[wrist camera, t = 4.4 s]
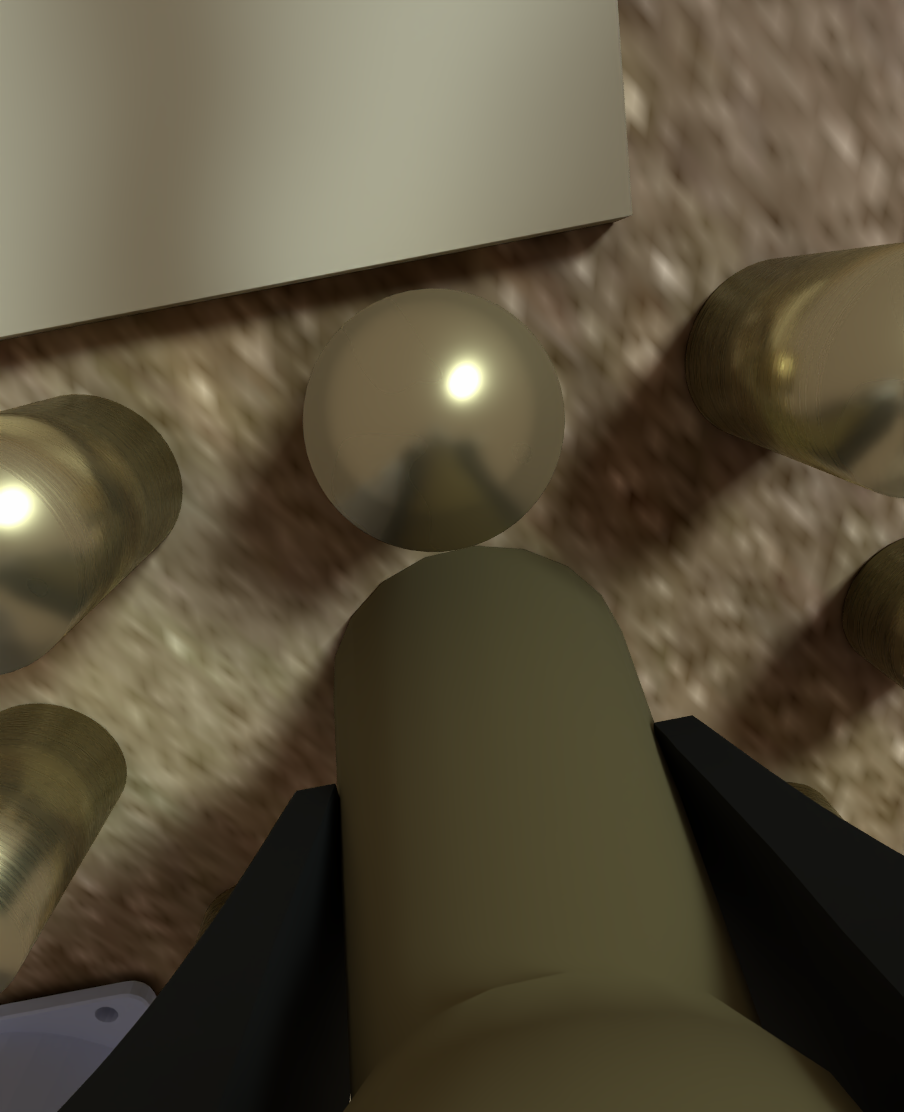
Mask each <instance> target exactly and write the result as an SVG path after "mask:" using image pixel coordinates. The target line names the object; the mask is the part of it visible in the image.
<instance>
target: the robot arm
mask: <svg viewBox="0 0 904 1112" xmlns="http://www.w3.org/2000/svg"><path fill="white" fill-rule="evenodd" d="M654 733H655V735H656V738H657V740H658V742H659V745H660V747H661V750H662V752H663V755H664V757H665V759H666V762H667V764H668V767H669V769H670V772H671V774H672V776H673V779H674V781H675V784H676V786H677V788H678V791H679V794H680V797H681V800H682V802H683V805H684V808H685V811H686V814H687V816H688V819H689V822H690V825H691V828H692V831H693V833H694V836H695V839H696V842H697V845H698V848H699V850H700V853H701V856H702V859H703V862H704V864H705V867H706V870H707V873H708V876H709V879H710V881H711V884H712V887H713V890H714V893H715V895H716V898H717V901H718V904H719V907H720V910H721V912H722V915H723V918H724V921H725V924H726V926H727V929H728V932H729V935H730V938H731V941H732V943H733V946H734V949H735V952H736V955H737V958H738V960H739V963H740V966H741V969H742V972H743V974H744V977H745V980H746V983H747V986H748V989H749V991H750V994H751V997H752V1000H753V1003H754V1005H755V1008H756V1011H757V1014H758V1017H759V1020H760V1022H761V1025H762V1028H763V1029H765V1030H766V1031H768V1032H769V1033H771V1034H772V1035H774V1036H775V1037H777V1038H778V1039H780V1040H781V1041H783V1042H784V1043H786V1044H788V1045H789V1046H791V1047H792V1048H794V1049H795V1050H797V1051H798V1052H800V1053H801V1054H803V1055H804V1056H806V1057H807V1058H809V1059H810V1060H812V1061H813V1062H815V1063H816V1064H818V1065H820V1066H821V1067H823V1068H824V1069H826V1070H827V1071H829V1072H830V1073H831V1074H832V1075H833V1076H834V1078H835V1079H836V1080H837V1081H838V1082H839V1084H840V1085H841V1086H842V1087H843V1088H844V1090H845V1091H846V1092H847V1093H848V1094H849V1096H850V1097H851V1098H852V1099H853V1100H854V1102H855V1103H856V1104H857V1105H858V1106H859V1107H860V1109H861V1110H862V1111H863V1112H904V856H903V855H902V854H900V853H898V852H896V851H894V850H893V849H891V848H889V847H888V846H886V845H884V844H883V843H881V842H879V841H878V840H876V839H874V838H873V837H871V836H869V835H868V834H866V833H864V832H863V831H861V830H859V829H858V828H856V827H854V826H853V825H851V824H849V823H848V822H846V821H844V820H843V819H841V818H839V817H838V816H836V815H835V814H833V813H832V812H830V811H829V810H827V809H825V808H824V807H822V806H821V805H819V804H818V803H816V802H815V801H813V800H812V799H810V798H809V797H807V796H806V795H804V794H803V793H801V792H800V791H798V790H797V789H795V788H794V787H792V786H791V785H789V784H788V783H786V782H785V781H783V780H782V779H781V778H779V777H778V776H776V775H775V774H773V773H772V772H771V771H769V770H768V769H766V768H765V767H763V766H762V765H761V764H759V763H758V762H756V761H755V760H754V759H752V758H751V757H749V756H748V755H747V754H745V753H744V752H742V751H741V750H740V749H738V748H737V747H736V746H734V745H733V744H731V743H730V742H729V741H727V740H726V739H725V738H723V737H722V736H720V735H719V734H718V733H716V732H715V731H714V730H712V729H711V728H709V727H708V726H707V725H705V724H704V723H702V722H701V721H700V720H698V719H697V718H695V717H694V716H693V715H692V716H687V717H682V718H677V719H671V720H666V721H661V722H656V723H654ZM349 1101H350V1071H349V1047H348V1024H347V1000H346V977H345V953H344V930H343V906H342V883H341V844H340V797H339V794H338V791H337V788H336V784H331V785H325V786H320V787H315V788H310V789H304V790H299V791H296V793H295V794H294V795H293V797H292V798H291V800H290V801H289V803H288V805H287V806H286V808H285V809H284V811H283V812H282V814H281V816H280V817H279V819H278V821H277V822H276V824H275V825H274V827H273V829H272V830H271V832H270V834H269V835H268V837H267V838H266V840H265V842H264V843H263V845H262V846H261V848H260V850H259V851H258V853H257V854H256V856H255V857H254V859H253V861H252V862H251V864H250V865H249V867H248V868H247V870H246V871H245V873H244V875H243V876H242V878H241V879H240V881H239V882H238V884H237V885H236V887H235V888H234V890H233V891H232V893H231V894H230V896H229V897H228V899H227V900H226V902H225V903H224V905H223V906H222V908H221V909H220V911H219V912H218V914H217V915H216V917H215V918H214V920H213V921H212V922H211V924H210V925H209V927H208V928H207V929H206V931H205V932H204V934H203V935H202V936H201V938H200V939H199V940H198V942H197V943H196V945H195V946H194V947H193V949H192V950H191V951H190V953H189V954H188V956H187V957H186V958H185V960H184V961H183V963H182V964H181V965H180V967H179V968H178V969H177V971H176V972H175V974H174V975H173V976H172V978H171V979H170V980H169V982H168V983H167V984H166V985H165V987H164V988H163V989H162V991H161V992H160V993H159V994H158V996H157V997H156V995H155V993H154V991H153V990H152V989H151V988H150V986H148V985H147V984H145V983H143V982H139V981H125V982H120V983H114V984H109V985H104V986H98V987H93V988H88V989H83V990H77V991H72V992H67V993H62V994H56V995H51V996H46V997H40V998H35V999H30V1000H25V1001H19V1002H14V1003H9V1004H3V1005H0V1112H343V1111H344V1110H345V1108H346V1107H347V1106H348V1104H349Z"/></svg>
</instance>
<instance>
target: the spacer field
mask: <svg viewBox="0 0 904 1112" xmlns="http://www.w3.org/2000/svg"><path fill="white" fill-rule="evenodd" d="M685 372H686V380H687V384H688V388H689V392H690V394H691V397H692V399H693V401H694V403H695V405H696V406H697V408H698V410H699V411H700V412H701V413H702V415H703V416H704V417H705V418H706V419H707V420H708V421H709V422H710V423H711V424H713V425H714V426H716V427H717V428H719V429H720V430H722V431H724V432H726V433H729V434H731V435H734V436H736V437H739V438H741V439H744V440H746V441H749V442H751V443H754V444H756V445H759V446H761V447H764V448H766V449H769V450H771V451H774V452H776V453H779V454H781V455H784V456H786V457H789V458H791V459H794V460H796V461H799V462H801V463H804V464H806V465H809V466H811V467H814V468H816V469H819V470H822V471H824V472H827V473H829V474H832V475H834V476H837V477H839V478H842V479H844V480H847V481H849V482H852V483H854V484H857V485H859V486H862V487H864V488H867V489H869V490H872V491H874V492H877V493H880V494H884V495H887V496H891V497H898V498H904V242H902V243H894V244H887V245H879V246H871V247H863V248H855V249H847V250H839V251H831V252H823V253H816V254H808V255H800V256H792V257H784V258H776V259H769V260H765V261H761V262H758V263H755V264H753V265H751V266H748V267H746V268H744V269H742V270H741V271H739V272H737V273H736V274H734V275H733V276H731V277H730V278H729V279H727V280H726V281H725V282H724V283H723V284H722V285H721V286H720V287H718V288H717V289H716V290H715V292H714V293H713V294H712V295H711V296H710V297H709V299H708V300H707V301H706V303H705V304H704V306H703V307H702V309H701V310H700V312H699V314H698V316H697V318H696V320H695V322H694V324H693V327H692V330H691V332H690V335H689V339H688V343H687V349H686V356H685ZM564 425H565V417H564V403H563V397H562V392H561V387H560V384H559V381H558V377H557V374H556V371H555V369H554V367H553V365H552V363H551V361H550V359H549V357H548V355H547V353H546V352H545V350H544V349H543V347H542V345H541V344H540V342H539V341H538V340H537V338H536V337H535V336H534V335H533V334H532V333H531V332H530V330H529V329H528V328H527V327H526V326H525V325H524V324H523V323H521V322H520V321H519V320H518V319H517V318H516V317H515V316H513V315H512V314H511V313H509V312H508V311H506V310H505V309H503V308H501V307H500V306H498V305H497V304H494V303H492V302H490V301H488V300H486V299H484V298H482V297H479V296H476V295H472V294H469V293H466V292H462V291H456V290H449V289H419V290H411V291H406V292H403V293H399V294H395V295H391V296H389V297H387V298H384V299H382V300H380V301H377V302H375V303H373V304H372V305H370V306H368V307H367V308H365V309H363V310H362V311H360V312H358V313H357V314H356V315H355V316H353V317H352V318H351V319H350V320H349V321H347V322H346V323H345V324H344V325H343V326H342V327H341V328H340V329H339V330H338V331H337V332H336V333H335V335H334V336H333V337H332V338H331V339H330V341H329V342H328V344H327V345H326V347H325V348H324V349H323V351H322V352H321V354H320V356H319V358H318V360H317V362H316V364H315V366H314V368H313V371H312V374H311V377H310V379H309V382H308V385H307V390H306V395H305V400H304V409H303V433H304V441H305V446H306V451H307V455H308V458H309V461H310V464H311V467H312V470H313V472H314V474H315V477H316V479H317V481H318V483H319V485H320V487H321V488H322V490H323V491H324V493H325V494H326V496H327V497H328V499H329V500H330V501H331V502H332V504H333V505H334V506H335V507H336V508H337V510H338V511H339V512H340V513H341V514H342V515H343V516H344V517H346V518H347V519H348V520H349V521H350V522H351V523H352V524H354V525H355V526H357V527H358V528H359V529H361V530H362V531H364V532H365V533H367V534H369V535H371V536H372V537H374V538H376V539H378V540H380V541H383V542H385V543H388V544H391V545H393V546H396V547H400V548H405V549H409V550H415V551H424V552H444V551H452V550H459V549H463V548H467V547H471V546H474V545H477V544H479V543H482V542H484V541H487V540H489V539H491V538H493V537H495V536H497V535H498V534H500V533H502V532H504V531H505V530H506V529H508V528H509V527H511V526H512V525H513V524H515V523H516V522H517V521H518V520H519V519H521V518H522V517H523V516H524V515H525V514H526V513H527V512H528V511H529V510H530V509H531V507H532V506H533V505H534V504H535V503H536V502H537V500H538V499H539V498H540V496H541V495H542V493H543V492H544V490H545V489H546V487H547V485H548V483H549V481H550V479H551V477H552V475H553V473H554V471H555V468H556V465H557V463H558V460H559V457H560V453H561V448H562V443H563V438H564ZM181 503H182V481H181V475H180V472H179V468H178V465H177V462H176V460H175V457H174V455H173V453H172V451H171V450H170V448H169V446H168V444H167V443H166V442H165V440H164V439H163V438H162V436H161V435H160V434H159V433H158V432H157V431H156V429H155V428H154V427H153V426H152V425H151V424H149V423H148V422H147V421H146V420H145V419H144V418H143V417H141V416H140V415H138V414H137V413H135V412H134V411H132V410H131V409H129V408H127V407H125V406H123V405H121V404H119V403H116V402H114V401H111V400H109V399H105V398H101V397H97V396H91V395H78V394H71V395H63V396H58V397H54V398H50V399H46V400H42V401H38V402H35V403H31V404H27V405H23V406H19V407H16V408H12V409H8V410H4V411H0V675H1V674H5V673H9V672H13V671H15V670H18V669H20V668H23V667H25V666H27V665H29V664H31V663H33V662H34V661H36V660H38V659H39V658H41V657H42V656H43V655H44V654H46V653H47V652H48V651H49V650H50V649H52V648H53V647H54V646H55V645H56V644H57V643H58V642H59V641H60V640H61V639H62V638H63V637H64V636H65V635H66V634H67V633H68V632H69V631H70V630H71V629H72V628H73V627H74V626H75V625H76V624H77V623H78V622H79V621H80V620H82V619H83V618H84V617H85V616H86V615H87V614H88V613H89V612H90V611H91V610H92V609H93V608H94V607H95V606H96V605H97V604H98V603H99V602H100V601H101V600H102V599H103V598H104V597H105V596H106V595H107V594H108V593H109V592H110V591H111V590H113V589H114V588H115V587H116V586H117V585H118V584H119V583H120V582H121V581H122V580H123V579H124V578H125V577H126V576H127V575H128V574H129V573H130V572H131V571H132V570H133V569H134V568H135V567H136V566H137V565H138V564H139V563H140V562H141V561H143V560H144V559H145V558H146V557H147V556H148V555H149V554H150V553H151V552H152V551H153V550H154V549H155V548H156V547H157V546H158V545H159V544H160V543H161V542H162V541H163V540H164V539H165V538H166V537H167V536H168V534H169V533H170V531H171V530H172V529H173V527H174V525H175V523H176V521H177V519H178V516H179V512H180V509H181ZM842 616H843V628H844V632H845V635H846V638H847V640H848V642H849V643H850V645H851V646H852V648H853V649H854V650H855V651H856V652H857V653H858V654H859V655H861V656H862V657H863V658H864V659H866V660H867V661H868V662H870V663H871V664H872V665H874V666H875V667H876V668H877V669H879V670H880V671H881V672H883V673H884V674H885V675H887V676H888V677H889V678H890V679H892V680H893V681H894V682H896V683H897V684H898V685H900V686H901V687H902V688H903V689H904V539H901V540H899V541H897V542H895V543H893V544H891V545H889V546H888V547H886V548H885V549H883V550H882V551H880V552H879V553H878V554H877V555H875V556H874V557H873V558H872V559H871V560H870V561H869V562H868V563H867V564H866V565H865V566H864V567H863V568H862V570H861V571H860V572H859V573H858V575H857V576H856V578H855V579H854V581H853V583H852V585H851V586H850V588H849V591H848V593H847V596H846V599H845V603H844V606H843V615H842ZM126 777H127V768H126V763H125V759H124V756H123V753H122V751H121V749H120V747H119V745H118V744H117V742H116V741H115V740H114V738H113V737H112V736H111V735H110V734H109V733H108V732H107V731H106V730H105V729H104V728H103V727H102V726H101V725H99V724H98V723H97V722H95V721H94V720H92V719H91V718H89V717H87V716H85V715H83V714H81V713H79V712H76V711H74V710H72V709H68V708H65V707H61V706H56V705H51V704H25V705H19V706H15V707H11V708H8V709H6V710H3V711H1V712H0V993H1V992H2V991H3V990H4V989H5V988H6V987H7V986H9V984H10V983H11V982H12V980H13V979H14V978H15V976H16V974H17V973H18V971H19V969H20V967H21V966H22V964H23V962H24V961H25V959H26V957H27V955H28V954H29V952H30V950H31V949H32V947H33V945H34V943H35V942H36V940H37V938H38V937H39V935H40V933H41V931H42V930H43V928H44V926H45V925H46V923H47V921H48V919H49V918H50V916H51V914H52V912H53V911H54V909H55V907H56V906H57V904H58V902H59V900H60V899H61V897H62V895H63V894H64V892H65V890H66V888H67V887H68V885H69V883H70V882H71V880H72V878H73V876H74V875H75V873H76V871H77V870H78V868H79V866H80V864H81V863H82V861H83V859H84V858H85V856H86V854H87V852H88V851H89V849H90V847H91V846H92V844H93V842H94V840H95V839H96V837H97V835H98V834H99V832H100V830H101V828H102V827H103V825H104V823H105V822H106V820H107V818H108V816H109V815H110V813H111V811H112V810H113V808H114V806H115V804H116V803H117V801H118V799H119V798H120V796H121V794H122V792H123V790H124V787H125V784H126ZM786 783H788V784H789V785H791V786H792V787H794V788H795V789H797V790H798V791H800V792H801V793H803V794H804V795H806V796H807V797H809V798H810V799H812V800H813V801H815V802H816V803H818V804H819V805H821V806H822V807H824V808H825V809H827V810H829V811H830V812H832V813H833V814H835V815H836V816H838V817H839V818H841V819H843V818H842V817H841V816H840V815H839V814H838V813H837V811H836V810H835V809H834V808H833V807H832V805H831V804H830V803H829V802H828V801H827V800H826V798H825V797H824V796H823V795H822V794H820V793H819V792H818V791H816V790H815V789H813V788H811V787H809V786H806V785H803V784H798V783H790V782H786ZM234 888H235V887H233V888H231V889H229V890H227V891H226V892H224V893H223V894H221V895H220V896H219V897H218V898H216V899H215V900H214V901H213V903H212V904H211V905H210V906H209V908H208V910H207V911H206V914H205V916H204V919H203V922H202V925H201V928H200V931H199V934H198V937H197V940H196V943H197V942H198V940H199V939H200V938H201V936H202V935H203V934H204V932H205V931H206V929H207V928H208V927H209V925H210V924H211V922H212V921H213V920H214V918H215V917H216V915H217V914H218V912H219V911H220V909H221V908H222V906H223V905H224V903H225V902H226V900H227V899H228V897H229V896H230V894H231V893H232V891H233V890H234ZM196 943H195V945H196Z"/></svg>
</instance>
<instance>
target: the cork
mask: <svg viewBox="0 0 904 1112" xmlns="http://www.w3.org/2000/svg"><path fill="white" fill-rule="evenodd" d="M334 719H335V742H336V766H337V789H338V794H339V797H340V844H341V883H342V906H343V930H344V953H345V977H346V1000H347V1024H348V1047H349V1071H350V1094H351V1101H350V1103H349V1104H348V1106H347V1107H346V1108H345V1110H344V1111H343V1112H863V1111H862V1110H861V1109H860V1107H859V1106H858V1105H857V1104H856V1103H855V1102H854V1100H853V1099H852V1098H851V1097H850V1096H849V1094H848V1093H847V1092H846V1091H845V1090H844V1088H843V1087H842V1086H841V1085H840V1084H839V1082H838V1081H837V1080H836V1079H835V1078H834V1076H833V1075H832V1074H831V1073H830V1072H829V1071H827V1070H826V1069H824V1068H823V1067H821V1066H820V1065H818V1064H816V1063H815V1062H813V1061H812V1060H810V1059H809V1058H807V1057H806V1056H804V1055H803V1054H801V1053H800V1052H798V1051H797V1050H795V1049H794V1048H792V1047H791V1046H789V1045H788V1044H786V1043H784V1042H783V1041H781V1040H780V1039H778V1038H777V1037H775V1036H774V1035H772V1034H771V1033H769V1032H768V1031H766V1030H765V1029H763V1028H762V1025H761V1022H760V1020H759V1017H758V1014H757V1011H756V1008H755V1005H754V1003H753V1000H752V997H751V994H750V991H749V989H748V986H747V983H746V980H745V977H744V974H743V972H742V969H741V966H740V963H739V960H738V958H737V955H736V952H735V949H734V946H733V943H732V941H731V938H730V935H729V932H728V929H727V926H726V924H725V921H724V918H723V915H722V912H721V910H720V907H719V904H718V901H717V898H716V895H715V893H714V890H713V887H712V884H711V881H710V879H709V876H708V873H707V870H706V867H705V864H704V862H703V859H702V856H701V853H700V850H699V848H698V845H697V842H696V839H695V836H694V833H693V831H692V828H691V825H690V822H689V819H688V816H687V814H686V811H685V808H684V805H683V802H682V800H681V797H680V794H679V791H678V788H677V786H676V784H675V781H674V779H673V776H672V774H671V772H670V769H669V767H668V764H667V762H666V759H665V757H664V755H663V752H662V750H661V747H660V745H659V742H658V740H657V738H656V735H655V733H654V721H653V718H652V715H651V712H650V709H649V707H648V704H647V701H646V698H645V695H644V692H643V690H642V687H641V684H640V681H639V678H638V675H637V673H636V670H635V667H634V664H633V661H632V659H631V656H630V653H629V650H628V647H627V644H626V642H625V639H624V636H623V633H622V631H621V629H620V627H619V625H618V624H617V622H616V620H615V618H614V617H613V615H612V613H611V611H610V609H609V608H608V606H607V604H606V602H605V601H604V599H603V597H602V595H601V594H599V593H598V592H597V591H596V590H595V589H594V588H592V587H591V586H590V585H589V584H588V583H586V582H585V581H584V580H583V579H582V578H581V577H579V576H578V575H577V574H576V573H575V572H574V571H572V570H571V569H570V568H569V567H568V566H565V565H562V564H560V563H557V562H555V561H552V560H550V559H547V558H545V557H542V556H539V555H537V554H534V553H532V552H529V551H527V550H524V549H511V548H496V547H481V546H472V547H468V548H463V549H459V550H455V551H451V552H446V553H442V554H438V555H434V556H429V557H425V558H423V559H422V560H420V561H418V562H416V563H415V564H413V565H411V566H410V567H408V568H406V569H404V570H403V571H401V572H399V573H398V574H396V575H394V576H392V577H391V578H389V579H387V580H385V581H384V582H382V583H381V585H380V586H379V587H378V588H377V589H376V590H375V591H374V592H373V593H372V595H371V596H370V597H369V598H368V599H367V600H366V601H365V602H364V603H363V605H362V606H361V607H360V608H359V609H358V610H357V611H356V612H355V614H354V615H353V616H352V617H351V619H350V622H349V624H348V627H347V629H346V631H345V634H344V636H343V639H342V641H341V643H340V646H339V648H338V651H337V653H336V656H335V671H334Z"/></svg>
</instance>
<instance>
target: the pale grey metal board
mask: <svg viewBox="0 0 904 1112" xmlns="http://www.w3.org/2000/svg"><path fill="white" fill-rule="evenodd" d="M631 215H632V202H631V188H630V174H629V159H628V145H627V131H626V116H625V102H624V87H623V73H622V59H621V44H620V30H619V16H618V1H617V0H0V340H4V339H9V338H15V337H20V336H25V335H30V334H35V333H41V332H46V331H51V330H56V329H61V328H67V327H72V326H77V325H82V324H87V323H92V322H98V321H103V320H108V319H113V318H118V317H124V316H129V315H134V314H139V313H144V312H150V311H155V310H160V309H165V308H170V307H175V306H181V305H186V304H191V303H196V302H201V301H207V300H212V299H217V298H222V297H227V296H233V295H238V294H243V293H248V292H253V291H258V290H264V289H269V288H274V287H279V286H284V285H290V284H295V283H300V282H305V281H310V280H316V279H321V278H326V277H331V276H336V275H341V274H347V273H352V272H357V271H362V270H367V269H373V268H378V267H383V266H388V265H393V264H399V263H404V262H409V261H414V260H419V259H424V258H430V257H435V256H440V255H445V254H450V253H456V252H461V251H466V250H471V249H476V248H482V247H487V246H492V245H497V244H502V243H507V242H513V241H518V240H523V239H528V238H533V237H539V236H544V235H549V234H554V233H559V232H565V231H570V230H575V229H580V228H585V227H591V226H596V225H601V224H606V223H611V222H616V221H619V220H621V219H624V218H626V217H629V216H631Z"/></svg>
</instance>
